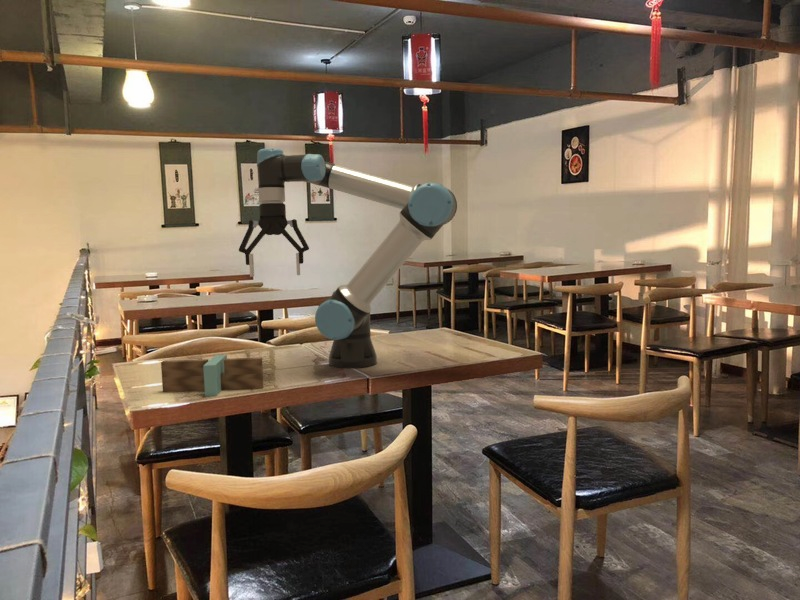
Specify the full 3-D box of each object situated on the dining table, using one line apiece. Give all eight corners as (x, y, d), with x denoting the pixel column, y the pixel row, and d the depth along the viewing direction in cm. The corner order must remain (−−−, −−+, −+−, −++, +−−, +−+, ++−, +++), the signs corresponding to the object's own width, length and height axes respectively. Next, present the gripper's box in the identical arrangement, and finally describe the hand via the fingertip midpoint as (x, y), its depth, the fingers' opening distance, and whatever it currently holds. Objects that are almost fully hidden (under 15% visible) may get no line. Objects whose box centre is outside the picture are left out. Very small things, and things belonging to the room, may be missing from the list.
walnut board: (263, 386, 168) (262, 357, 167) (262, 388, 166) (261, 358, 165) (165, 390, 166) (163, 360, 165) (162, 392, 164) (160, 362, 163)
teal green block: (228, 382, 173) (226, 354, 172) (216, 395, 159) (215, 365, 158) (217, 383, 173) (215, 354, 172) (205, 396, 159) (203, 365, 158)
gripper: (315, 202, 186) (318, 273, 188) (231, 204, 184) (235, 275, 187) (314, 201, 179) (316, 275, 181) (226, 203, 177) (230, 277, 179)
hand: (275, 275), depth 184 cm, fingers open, 13 cm apart
